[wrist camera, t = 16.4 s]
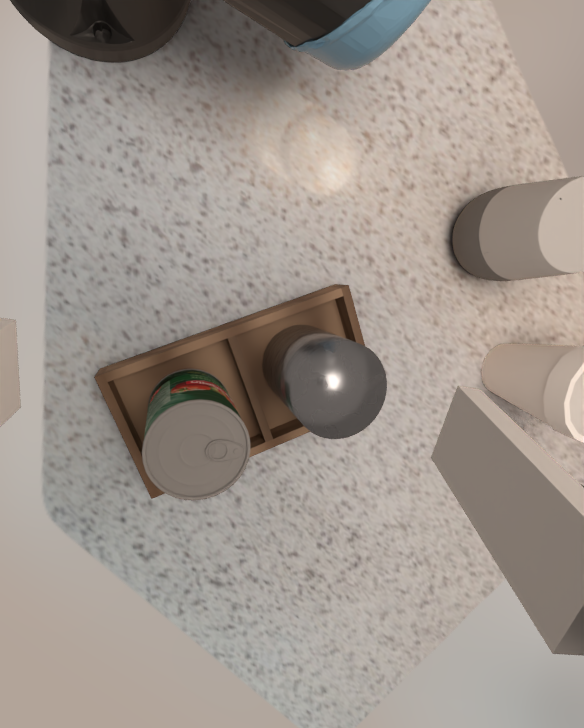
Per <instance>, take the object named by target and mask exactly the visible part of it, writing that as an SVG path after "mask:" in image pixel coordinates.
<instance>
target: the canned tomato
mask: <svg viewBox="0 0 584 728" xmlns="http://www.w3.org/2000/svg"><path fill="white" fill-rule="evenodd" d="M147 409H148V411H147V419H146V426H145V434H144V441H143V447H142V460H143V465H144V468H145V471H146V473H147V475H148V477H149V478H150V480H151V481H152V482H153V483H154V484H155V486H156V487H157V488H159V489H160V490H161V491H163V492H164V493H166V494H168V495H170V496H173V497H175V498H179V499H184V500H201V499H207V498H210V497H213V496H216V495H218V494H220V493H222V492H224V491H225V490H227V489H228V488H229V487H231V486H232V485H233V484H234V483H235V482H236V481H237V480H238V479H239V478H240V476H241V475H242V473H243V471H244V470H245V468H246V466H247V463H248V460H249V456H250V437H249V433H248V430H247V428H246V426H245V424H244V422H243V421H242V419H241V417H240V415H239V413H238V411H237V409H236V407H235V406H234V404H233V402H232V400H231V398H230V396H229V394H228V392H227V390H226V387H225V386H224V385H223V383H222V382H221V381H220V380H219V379H218V378H216V377H215V376H214V375H212V374H210V373H208V372H206V371H203V370H200V369H182V370H178V371H175V372H173V373H171V374H168V375H167V376H165V377H164V378H163V379H161V380H160V381H159V383H158V384H157V385H156V386H155V387H154V389H153V391H152V392H151V395H150V398H149V400H148V408H147Z"/></svg>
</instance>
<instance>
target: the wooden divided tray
mask: <svg viewBox="0 0 584 728" xmlns="http://www.w3.org/2000/svg"><path fill="white" fill-rule="evenodd" d="M293 325H310V326H314V327H316V328H319V329H322V330H324V331H327V332H330V333H332V334H335V335H338V336H340V337H343V338H346V339H349V340H351V341H354V342H357V343H359V344H362V345H364V346H365V344H364V340H363V337H362V333H361V329H360V326H359V322H358V318H357V314H356V311H355V307H354V303H353V300H352V296H351V292H350V289H349V285H338V284H335V285H332V286H329V287H326V288H324V289H321V290H318V291H315V292H312V293H310V294H307V295H304V296H301V297H298V298H296V299H293V300H290V301H287V302H285V303H282V304H279V305H276V306H273V307H271V308H268V309H265V310H262V311H259V312H257V313H254V314H251V315H248V316H245V317H243V318H240V319H237V320H234V321H232V322H229V323H226V324H223V325H220V326H218V327H215V328H212V329H209V330H206V331H204V332H201V333H198V334H195V335H192V336H190V337H187V338H184V339H181V340H178V341H176V342H173V343H170V344H167V345H165V346H162V347H159V348H156V349H153V350H151V351H148V352H145V353H142V354H139V355H137V356H134V357H131V358H128V359H125V360H123V361H120V362H117V363H114V364H112V365H109V366H106V367H103V368H100V370H99V371H98V373H97V374H96V375H95V377H94V378H95V380H96V382H97V384H98V386H99V388H100V390H101V392H102V395H103V397H104V399H105V401H106V403H107V405H108V407H109V409H110V412H111V414H112V416H113V418H114V420H115V422H116V424H117V426H118V429H119V431H120V433H121V435H122V437H123V439H124V441H125V443H126V446H127V448H128V450H129V452H130V454H131V456H132V458H133V460H134V463H135V465H136V467H137V469H138V471H139V473H140V475H141V477H142V480H143V482H144V484H145V486H146V488H147V490H148V492H149V494H150V497H151V499H152V498H155V497H157V496H159V495H162V494H164V492H163V491H161V490H160V489H159V488H157V487H156V486H155V484H154V483H153V482H152V481H151V480H150V478H149V477H148V475H147V473H146V471H145V468H144V465H143V460H142V447H143V441H144V434H145V426H146V419H147V411H148V409H147V408H148V400H149V398H150V395H151V392H152V391H153V389H154V387H155V386H156V385H157V384H158V383H159V381H160V380H161V379H163V378H164V377H165V376H167V375H168V374H171V373H173V372H175V371H178V370H182V369H200V370H203V371H206V372H208V373H210V374H212V375H214V376H215V377H216V378H218V379H219V380H220V381H221V382H222V383H223V385H224V386H225V387H226V390H227V392H228V394H229V396H230V398H231V400H232V402H233V404H234V406H235V407H236V409H237V411H238V413H239V415H240V417H241V419H242V421H243V422H244V424H245V426H246V428H247V430H248V433H249V437H250V456H249V457H251V456H254V455H256V454H258V453H261V452H263V451H265V450H268V449H270V448H272V447H275V446H277V445H279V444H282V443H284V442H287V441H289V440H291V439H294V438H296V437H298V436H301V435H303V434H305V433H308V432H310V431H309V430H308V429H307V428H306V427H305V426H304V425H303V424H302V423H301V422H300V421H299V420H298V419H297V418H296V416H295V415H294V414H293V413H292V412H291V411H290V410H289V409H288V407H287V406H286V405H285V404H284V403H283V402H282V401H281V400H280V398H279V397H278V396H277V395H276V394H275V393H274V392H273V391H272V389H271V388H270V387H269V386H268V384H267V382H266V380H265V378H264V374H263V368H262V362H263V356H264V352H265V350H266V347H267V345H268V344H269V342H270V341H271V339H272V338H273V337H274V336H275V335H276V334H277V333H279V332H280V331H282V330H283V329H285V328H287V327H290V326H293Z"/></svg>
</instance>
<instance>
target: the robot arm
mask: <svg viewBox="0 0 584 728" xmlns="http://www.w3.org/2000/svg"><path fill="white" fill-rule="evenodd" d="M10 1H11V2H12V4H13V5H14V6H15V7H16V9H17V10H18V11H19V13H20V14H21V15H22V16H23V17H24V18H25V19H26V20H27V21H28V22H29V23H30V24H31V25H32V26H33V27H34V28H35V29H36V30H37V31H38V32H40V33H41V34H42V35H44V36H45V37H46V38H48V39H49V40H50V41H52V42H53V43H55V44H57V45H58V46H60V47H62V48H64V49H66V50H68V51H70V52H72V53H74V54H77V55H80V56H82V57H86V58H89V59H93V60H98V61H105V62H123V61H130V60H135V59H138V58H142V57H144V56H147V55H149V54H151V53H153V52H154V51H156V50H158V49H159V48H161V47H162V46H163V45H164V44H166V43H167V42H168V41H169V40H170V39H171V38H172V37H173V35H174V34H175V33H176V32H177V30H178V29H179V27H180V26H181V24H182V22H183V20H184V18H185V16H186V14H187V11H188V8H189V5H190V1H191V0H10ZM223 1H225V2H226V3H228V4H230V5H231V6H233V7H234V8H236V9H237V10H239V11H240V12H242V13H244V14H245V15H247V16H248V17H250V18H251V19H253V20H254V21H256V22H258V23H259V24H261V25H262V26H264V27H265V28H267V29H268V30H270V31H272V32H273V33H275V34H276V35H278V36H279V37H281V38H282V39H283V40H284V42H285V44H286V45H287V46H288V47H290V48H291V49H293V50H297V51H299V52H306V53H307V54H309V55H311V56H313V57H314V58H316V59H318V60H320V61H321V62H323V63H325V64H327V65H328V66H330V67H332V68H334V69H340V70H354V69H358V68H361V67H363V66H365V65H367V64H369V63H370V62H372V61H373V60H375V59H376V58H378V57H379V56H380V55H382V54H383V53H384V52H385V51H386V50H387V49H388V48H390V47H391V46H392V45H393V44H394V43H395V42H396V41H397V40H398V39H399V38H400V37H401V36H402V34H403V33H404V32H405V31H406V30H407V29H408V28H409V27H410V26H411V24H412V23H413V22H414V21H415V20H416V19H417V17H418V16H419V15H420V14H421V12H422V11H423V10H424V9H425V7H426V6H427V5H428V4H429V2H430V1H431V0H223ZM20 407H21V404H20V386H19V369H18V350H17V332H16V320H12V319H4V318H0V427H1V426H2V425H3V424H4V423H5V422H6V421H7V420H8V419H9V418H10V417H11V416H12V415H13V414H14V413H15V412H16V411H17V410H18V409H19V408H20ZM431 458H432V460H433V462H434V463H435V465H436V466H437V468H438V470H439V471H440V473H441V474H442V476H443V478H444V479H445V481H446V483H447V484H448V486H449V487H450V489H451V491H452V492H453V494H454V495H455V497H456V499H457V500H458V502H459V503H460V505H461V507H462V508H463V510H464V512H465V513H466V515H467V516H468V518H469V520H470V521H471V523H472V524H473V526H474V528H475V529H476V531H477V533H478V534H479V536H480V537H481V539H482V541H483V542H484V544H485V545H486V547H487V549H488V550H489V552H490V553H491V555H492V557H493V558H494V560H495V562H496V563H497V565H498V566H499V568H500V570H501V571H502V573H503V574H504V576H505V578H506V579H507V581H508V582H509V584H510V586H511V587H512V589H513V591H514V592H515V594H516V595H517V597H518V599H519V600H520V602H521V603H522V605H523V607H524V608H525V610H526V612H527V613H528V615H529V616H530V618H531V620H532V621H533V623H534V624H535V626H536V627H537V629H538V631H539V632H540V634H541V636H542V637H543V639H544V640H545V642H546V644H547V645H548V647H549V649H550V650H551V652H552V653H553V654H568V655H584V486H583V485H581V484H580V483H578V482H577V481H576V480H575V479H574V478H573V477H572V476H571V475H570V474H569V473H568V472H567V471H566V470H565V469H564V468H563V467H562V466H560V465H559V464H558V463H557V462H556V461H555V460H554V459H553V458H552V457H551V456H550V455H549V454H548V453H547V452H546V451H545V450H544V449H543V448H542V447H540V446H539V445H538V444H537V443H536V442H535V441H534V440H533V439H532V438H531V437H530V436H529V435H528V434H527V433H526V432H525V431H524V430H523V429H521V428H520V427H519V426H518V425H517V424H516V423H515V422H514V421H513V420H512V419H511V418H510V417H509V416H508V415H507V414H506V413H505V412H504V411H503V410H501V409H500V408H499V407H498V406H497V405H496V404H495V403H494V402H493V401H492V400H491V399H490V398H489V397H488V396H487V395H486V394H485V393H484V392H483V391H481V390H480V389H476V388H469V387H462V386H458V387H457V389H456V392H455V395H454V397H453V400H452V403H451V405H450V408H449V411H448V413H447V416H446V419H445V421H444V424H443V427H442V430H441V432H440V435H439V438H438V440H437V443H436V446H435V448H434V451H433V454H432V456H431Z"/></svg>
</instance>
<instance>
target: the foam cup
mask: <svg viewBox="0 0 584 728" xmlns="http://www.w3.org/2000/svg"><path fill="white" fill-rule="evenodd" d="M481 374H482V382H483V383H484V385H485V386H486V388H487V389H488V390H490V391H491V392H492V393H494V394H496V395H498V396H499V397H501V398H503V399H505V400H506V401H508V402H510V403H511V404H513V405H515V406H517V407H518V408H520V409H522V410H524V411H525V412H527V413H529V414H531V415H532V416H534V417H536V418H537V419H539V420H541V421H543V422H544V423H546V424H548V425H550V426H551V427H552V428H553V430H555V431H557V432H559V433H561V434H563V435H566V436H568V437H570V438H573V439H575V440H577V441H580V442H582V443H584V346H567V345H541V344H515V343H514V344H510V343H509V344H500V345H498V346H497V347H495V348H493V349H492V350H491V351H490V352H489V353H488V355H487V356H486V358H485V359H484V362H483V366H482V369H481Z"/></svg>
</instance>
